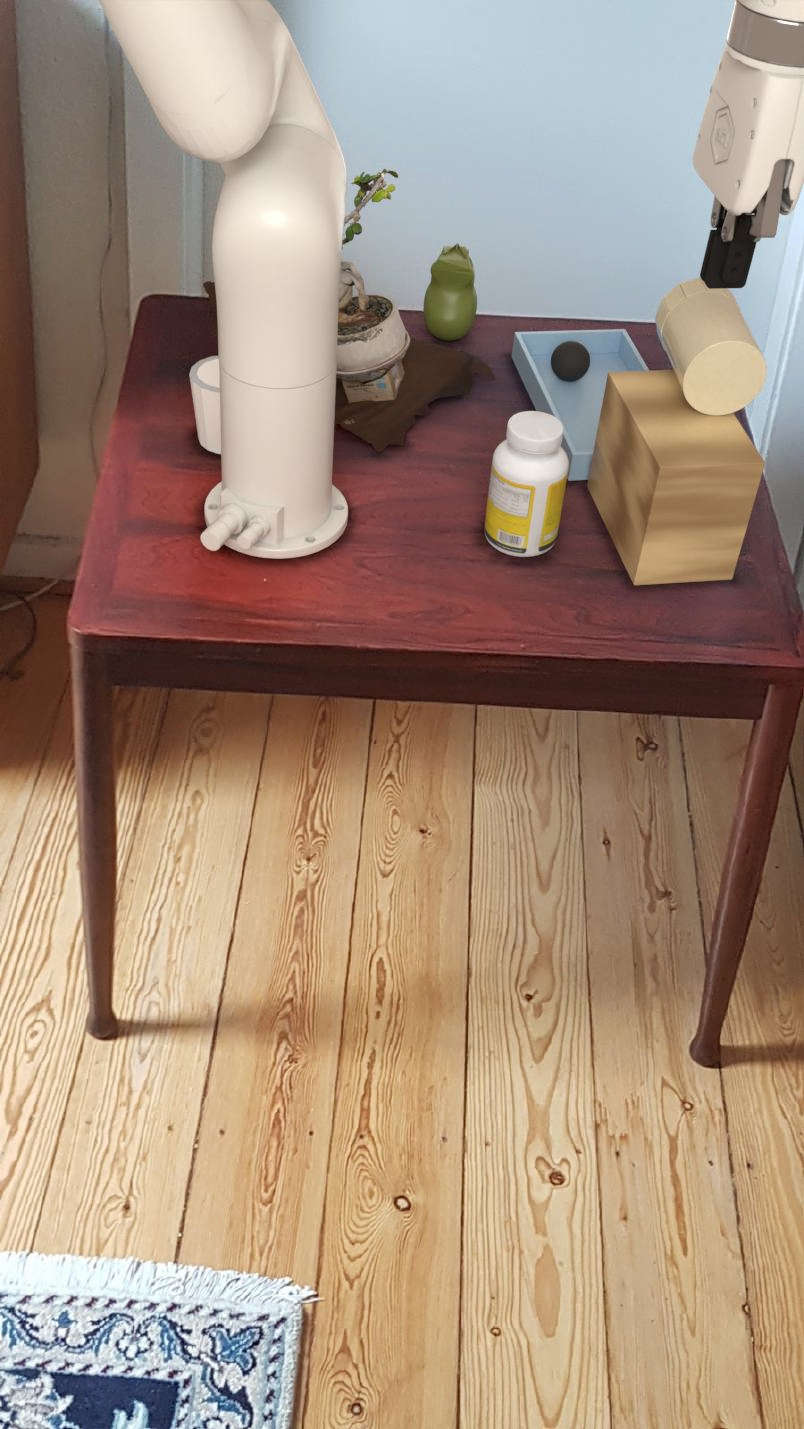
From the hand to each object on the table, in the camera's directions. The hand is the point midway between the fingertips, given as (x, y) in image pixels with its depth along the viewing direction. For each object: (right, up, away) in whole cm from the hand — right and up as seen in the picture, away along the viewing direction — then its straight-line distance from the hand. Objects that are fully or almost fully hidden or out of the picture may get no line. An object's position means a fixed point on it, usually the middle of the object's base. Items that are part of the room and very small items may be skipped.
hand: (721, 283), depth 111 cm
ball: (-8, +3, +35) cm, 36 cm away
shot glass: (-41, -7, +25) cm, 49 cm away
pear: (-20, +7, +42) cm, 47 cm away
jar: (+2, -6, +8) cm, 10 cm away
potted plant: (-29, 0, +33) cm, 45 cm away
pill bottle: (-14, -18, +16) cm, 28 cm away
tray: (-5, -3, +33) cm, 33 cm away
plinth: (-2, -17, +18) cm, 25 cm away
